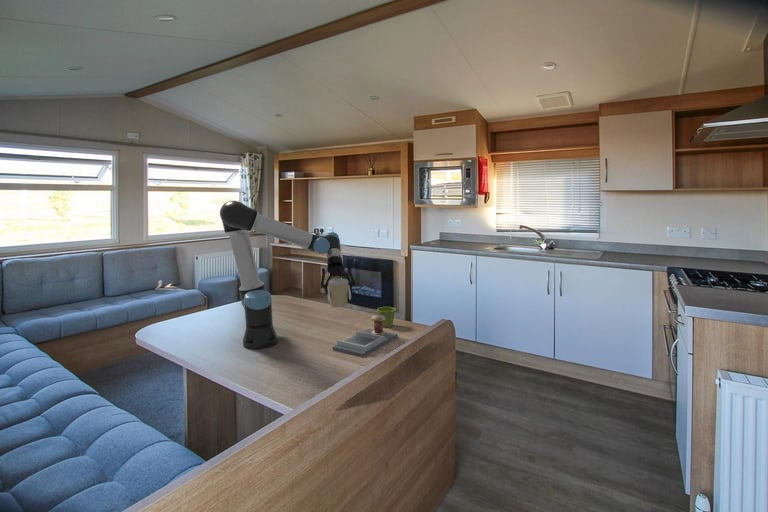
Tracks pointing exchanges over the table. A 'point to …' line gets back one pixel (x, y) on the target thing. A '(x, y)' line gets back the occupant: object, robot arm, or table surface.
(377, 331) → the wooden bobbin
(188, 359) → the table surface
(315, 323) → the table surface
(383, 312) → the plant pot
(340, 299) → the coffee cup
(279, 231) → the robot arm
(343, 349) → the gray board
